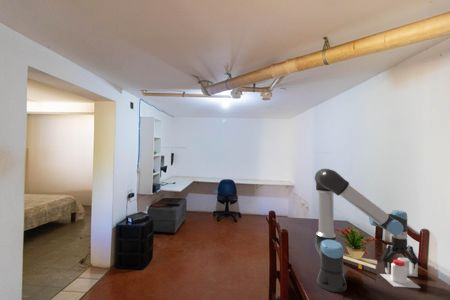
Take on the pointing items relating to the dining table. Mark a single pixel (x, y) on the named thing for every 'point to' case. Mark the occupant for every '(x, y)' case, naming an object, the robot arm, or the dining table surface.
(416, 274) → the housing
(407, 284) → the mat
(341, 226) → the dining table surface
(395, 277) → the pill bottle
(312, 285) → the dining table surface
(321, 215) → the robot arm
